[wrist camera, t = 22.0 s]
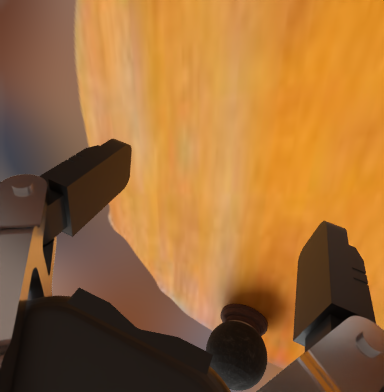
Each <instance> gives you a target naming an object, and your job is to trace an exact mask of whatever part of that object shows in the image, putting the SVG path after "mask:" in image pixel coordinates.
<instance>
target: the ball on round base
mask: <svg viewBox="0 0 384 392" xmlns="http://www.w3.org/2000/svg"><path fill="white" fill-rule="evenodd" d="M221 319H222V322H223V323H222V324H220V325H219V326H218V327H216V328H215V329H214V330H213V332H212V333H211V335H210V337H209V340H208V342H207V347H206V352H208V353H210V354H212V355H213V356H212V360H211V363H210V367H211V368H212V369H213V370H215V371H216V373H217V374H218V375H219V376H220V377H221V378H222V379H223V381H224V382H225V384H226V385H227V387H228V388H229V389H232V390H246V389H249V388H251V387H253V386H254V385H256V384H257V383H258V382H259V381H260V379H261V378H262V376H263V374H264V372H265V369H266V365H267V351H266V347H265V344H264V341H263V339H262V338H261V336H262V335H263V334H265V332H266V331H267V321H266V319H265V318H264V316H263V315H262V314H261V313H259V312H258V311H256V310H255V309H253V308H251V307H248V306H245V305H241V304H230V305H227V306H225V307H224V308H223V309H222V312H221Z"/></svg>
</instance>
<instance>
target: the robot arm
mask: <svg viewBox="0 0 384 392" xmlns="http://www.w3.org/2000/svg"><path fill="white" fill-rule="evenodd" d="M130 165H131V146H130V145H129V144H126V143H123V142H121V141H118V140H116V139H111V140H109V141H107V142H106V143H104V144H103V145H101V146H99V145H97V146H93V147H89V148H86V149H84V150H82V151H81V152H79V153H77V154H76V156H75V155H74V156H73V157H71V158H69V160H66V161H64V162H62V163H61V164H59V165H57V166H56V167H54V168H52V169H51V170H49V171H47V172H46V173H44V174H42V175H41V176H37V175H32V174H21V175H16V176H12V177H9V178H7V179H5V180H3V181H2V182H0V392H231V391H230V390H229V388H228V387H227V385H226V384H225V382H224V381H223V379H222V378H221V377H220V376H219V375H218V374H217V373H216V371H215V370H213V369H212V368H211V367H210V363H211V360H212V356H213V355H212V354H210V353H208V352H206V351H204V350H202V349H200V348H198V347H196V346H194V345H192V344H190V343H188V342H187V341H184V340H182V339H181V338H178V337H174V336H170V335H164V334H160V333H155V332H149V331H145V330H141V329H138V328H136V327H135V326H134V325H133V324H132V323H131V322H130V321H129V320H127V319H126V318H125V317H124V316H123V315H122V314H121V313H120V312H119V311H118V310H117V309H116V308H115V307H114V306H112V305H111V304H110V303H109V302H107V301H105V300H103V299H101V298H99V297H96V296H95V295H92V294H91V293H89V292H87V291H85V290H83V289H81V288H78V290H77V291H76V292H75V293H74V294H73V295H72V297H70V296H52V277H53V269H54V260H55V251H56V242H57V240H56V236H57V235H58V234H59V233H61V232H64V233H66V234H68V235H70V236H72V237H73V236H74V235H75V234H76V233H77V232H78V231H79V230H80V229H81V228H82V227H83V226H85V224H87V223H88V222H89V221H90V220H91V219H92V218H93V217H94V216H95V215H96V214H97V213H98V212H100V211H101V210H102V209H103V208H104V207H105V206H106V205H107V204H108V203H109V202H110V201H111V200H112V199H114V198H115V197H116V196H117V195H118V194H119V193H120V192H121V191H122V190H123V189H124V188H125V187H126V185H127V183H128V181H129V177H130ZM365 273H366V271H365V266H364V261H363V259H362V257H361V256H360V254H359V253H358V251H357V249H356V248H355V247H353V246H350V245H349V244H348V237H347V231H346V229H345V228H342V227H339V226H337V225H334V224H332V223H329V222H326V221H323V222H322V223H321V224H320V225H319V226H318V228H317V229H316V230H315V232H314V233H313V235H312V236H311V238H310V239H309V240H308V242H307V243H306V245H305V246H304V248H303V249H302V251H301V253H300V256H299V260H298V271H297V287H296V303H295V319H294V335H293V341H294V342H296V343H299V344H301V345H303V346H305V353H303V354H302V355H301V356H300V357H298V358H297V359H296V360H295V361H293V362H292V363H291V364H290V365H288V366H287V367H286V368H285V369H284V370H282V371H281V372H280V373H279V374H277V375H276V376H275V377H274V378H273V379H272V380H270V381H269V382H268V383H266V384H265V385H264V386H263V387H261V388H260V389H259V390H258V391H256V392H384V330H383V329H381V328H380V327H379V326H378V325H377V324H376V321H375V316H374V311H373V306H372V301H371V296H370V291H369V286H368V285H367V284H368V281H367V276H366V275H365Z"/></svg>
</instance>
